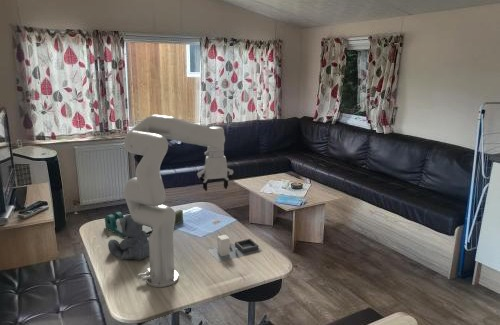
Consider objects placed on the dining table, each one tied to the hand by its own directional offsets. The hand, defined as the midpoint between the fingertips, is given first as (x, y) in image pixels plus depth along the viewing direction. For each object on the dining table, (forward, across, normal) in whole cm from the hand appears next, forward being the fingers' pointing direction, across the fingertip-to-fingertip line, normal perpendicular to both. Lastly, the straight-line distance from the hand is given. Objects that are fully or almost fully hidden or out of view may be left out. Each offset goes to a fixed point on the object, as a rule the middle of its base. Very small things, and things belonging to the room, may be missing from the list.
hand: (215, 188), depth 183 cm
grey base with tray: (+26, +5, -15) cm, 31 cm away
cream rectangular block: (+25, -1, -16) cm, 30 cm away
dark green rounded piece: (+27, -42, +24) cm, 56 cm away
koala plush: (+27, -38, -1) cm, 47 cm away
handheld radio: (+27, -22, +21) cm, 40 cm away
